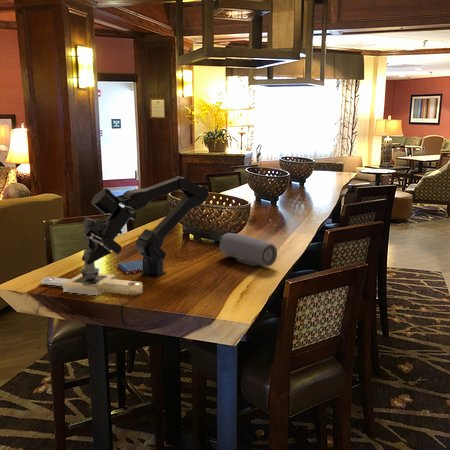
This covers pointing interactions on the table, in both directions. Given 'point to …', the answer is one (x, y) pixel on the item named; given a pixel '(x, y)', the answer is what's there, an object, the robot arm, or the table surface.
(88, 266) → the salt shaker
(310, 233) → the table surface
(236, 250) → the bluetooth speaker
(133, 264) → the woven mat
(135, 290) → the square wooden loop
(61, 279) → the cream handled frame
